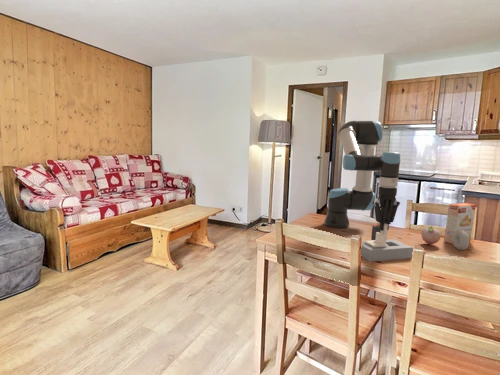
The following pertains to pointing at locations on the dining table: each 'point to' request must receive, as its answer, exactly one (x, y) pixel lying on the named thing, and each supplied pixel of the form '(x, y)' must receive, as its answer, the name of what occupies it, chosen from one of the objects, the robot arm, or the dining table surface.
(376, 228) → the plug
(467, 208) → the cracker box
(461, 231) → the donut
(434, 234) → the decorative fruit
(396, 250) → the socket housing
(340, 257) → the dining table surface
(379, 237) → the cream l-shaped bracket
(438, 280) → the dining table surface
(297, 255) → the dining table surface
